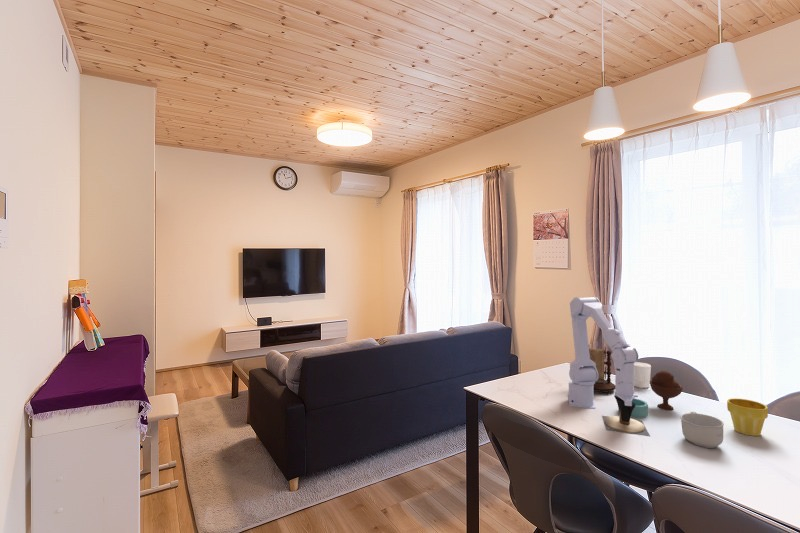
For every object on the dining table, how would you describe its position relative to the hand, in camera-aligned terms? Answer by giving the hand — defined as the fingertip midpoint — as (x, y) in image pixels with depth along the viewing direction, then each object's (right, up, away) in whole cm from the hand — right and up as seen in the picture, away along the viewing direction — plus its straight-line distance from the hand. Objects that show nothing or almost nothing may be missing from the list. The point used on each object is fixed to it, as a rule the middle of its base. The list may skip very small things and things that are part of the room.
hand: (624, 419), depth 136 cm
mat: (0, -3, 0) cm, 3 cm away
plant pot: (+39, -3, -5) cm, 39 cm away
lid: (0, -2, 0) cm, 2 cm away
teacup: (+18, -3, -12) cm, 22 cm away
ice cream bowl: (+26, -2, +17) cm, 31 cm away
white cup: (+33, -2, +43) cm, 55 cm away
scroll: (+10, -2, +39) cm, 40 cm away
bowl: (+10, -2, +11) cm, 15 cm away
